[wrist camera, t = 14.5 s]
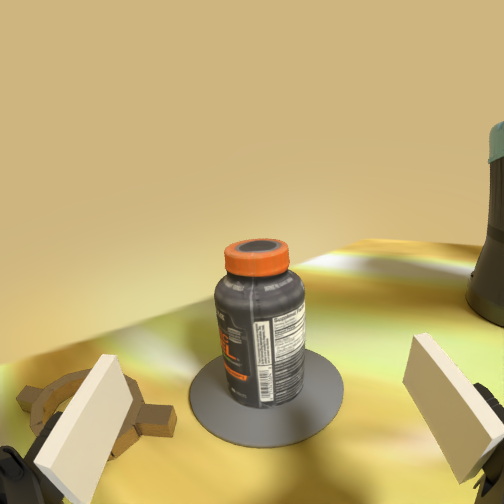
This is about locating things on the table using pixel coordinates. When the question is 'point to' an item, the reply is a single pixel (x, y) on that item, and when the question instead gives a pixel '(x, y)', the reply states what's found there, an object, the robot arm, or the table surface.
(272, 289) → the pill bottle
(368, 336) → the table surface
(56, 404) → the collar
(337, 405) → the coaster
